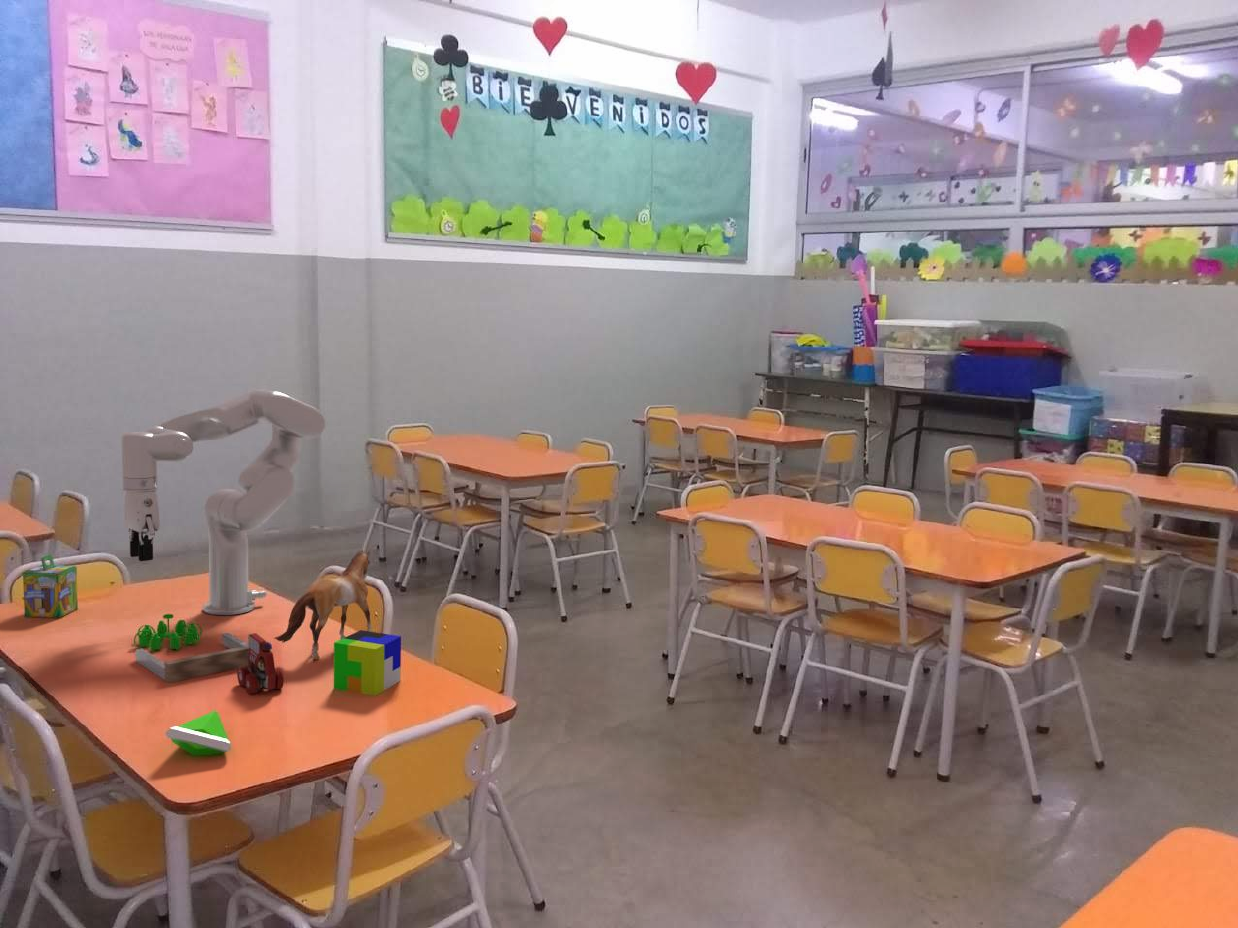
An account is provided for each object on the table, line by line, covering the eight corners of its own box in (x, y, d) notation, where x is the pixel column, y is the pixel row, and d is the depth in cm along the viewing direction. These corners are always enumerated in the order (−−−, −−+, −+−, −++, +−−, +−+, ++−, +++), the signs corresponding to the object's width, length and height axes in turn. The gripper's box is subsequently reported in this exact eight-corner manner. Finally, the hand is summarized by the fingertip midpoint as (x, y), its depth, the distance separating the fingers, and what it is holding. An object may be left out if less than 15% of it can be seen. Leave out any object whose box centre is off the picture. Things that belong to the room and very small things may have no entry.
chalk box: (59, 619, 260) (57, 560, 258) (23, 617, 260) (20, 559, 258) (79, 609, 269) (77, 552, 267) (44, 607, 269) (42, 550, 267)
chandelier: (156, 632, 253) (155, 604, 252) (215, 637, 251) (214, 608, 250) (119, 651, 238) (118, 622, 237) (182, 656, 237) (181, 626, 236)
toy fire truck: (253, 699, 212) (253, 649, 210) (234, 681, 221) (234, 633, 220) (287, 693, 216) (287, 644, 215) (267, 676, 226) (267, 629, 224)
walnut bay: (228, 643, 246) (228, 626, 246) (263, 662, 234) (263, 645, 233) (135, 660, 232) (135, 643, 231) (168, 682, 219) (168, 664, 218)
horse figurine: (362, 628, 262) (363, 548, 259) (388, 633, 259) (389, 552, 256) (273, 662, 234) (273, 572, 231) (300, 668, 231) (300, 577, 228)
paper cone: (181, 720, 204) (158, 752, 180) (190, 693, 205) (169, 722, 181) (239, 735, 207) (224, 768, 183) (248, 708, 207) (234, 738, 183)
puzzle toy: (400, 681, 226) (401, 636, 225) (375, 695, 217) (375, 649, 215) (360, 674, 229) (360, 630, 228) (333, 688, 220) (333, 642, 218)
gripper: (170, 487, 248) (171, 562, 250) (142, 477, 260) (144, 550, 262) (137, 490, 243) (138, 567, 245) (110, 480, 254) (112, 553, 257)
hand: (141, 557), depth 253 cm, fingers open, 4 cm apart
